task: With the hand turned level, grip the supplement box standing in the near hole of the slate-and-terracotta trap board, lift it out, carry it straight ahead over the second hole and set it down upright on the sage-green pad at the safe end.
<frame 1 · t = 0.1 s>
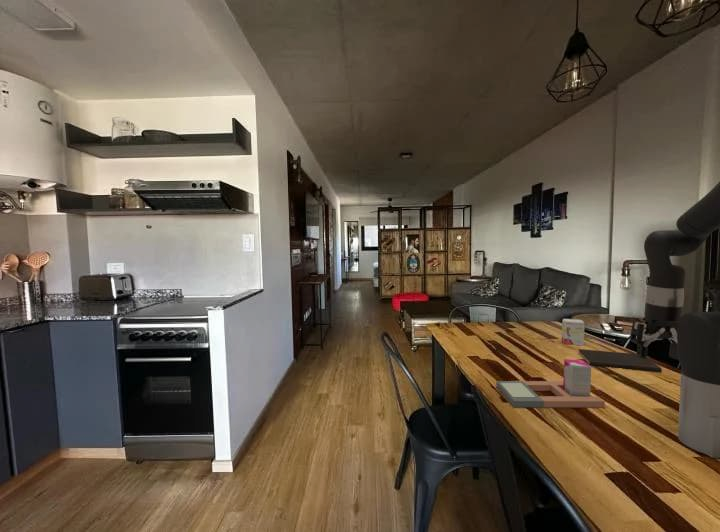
hand: (657, 358, 89), 17 cm above the table, tool pointing down, fingers open, 8 cm apart
supplement box: (576, 397, 102), on the table
trap board: (546, 396, 103), on the table
hardcover book: (616, 363, 130), on the table
ink box: (572, 344, 154), on the table
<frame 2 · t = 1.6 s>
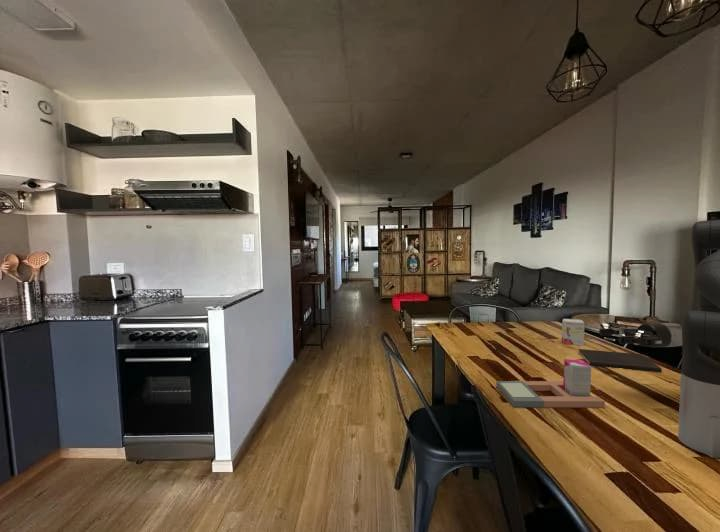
hand: (609, 336, 100), 20 cm above the table, tool horizontal, fingers open, 8 cm apart
nothing on the table moved.
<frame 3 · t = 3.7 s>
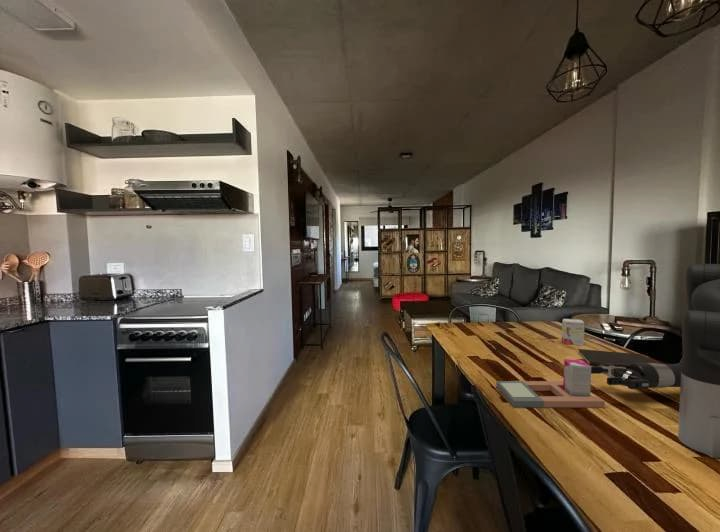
hand: (598, 375, 101), 7 cm above the table, tool horizontal, fingers open, 8 cm apart
nothing on the table moved.
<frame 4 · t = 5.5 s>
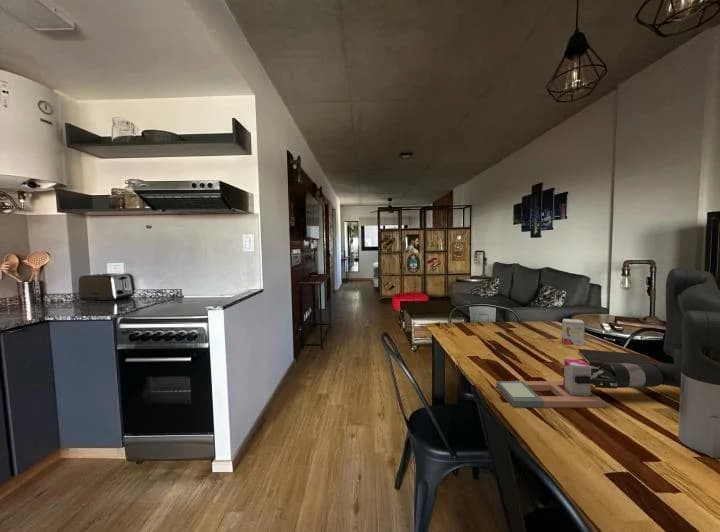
hand: (569, 375, 102), 7 cm above the table, tool horizontal, fingers closed on supplement box, 6 cm apart
supplement box: (576, 396, 102), on the table, touching gripper
everything else where it was.
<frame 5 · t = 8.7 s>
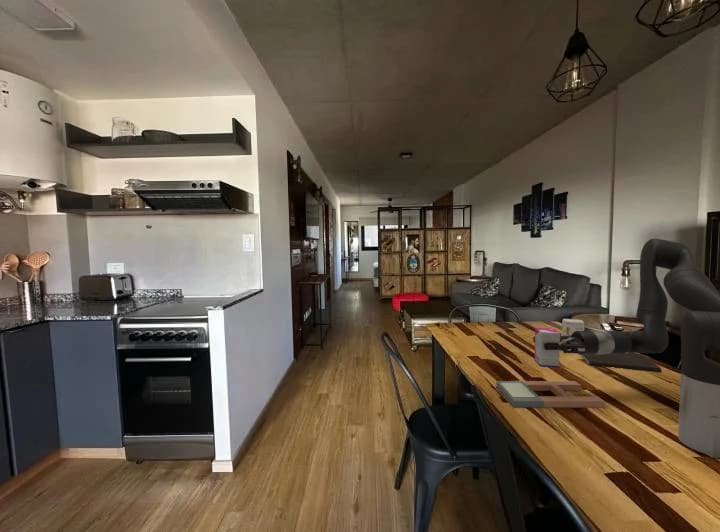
hand: (539, 343, 102), 18 cm above the table, tool horizontal, fingers closed on supplement box, 6 cm apart
supplement box: (546, 364, 102), point 11 cm above the table, touching gripper
everything else where it was.
when the fingers open (10 cm above the table, at t = 11.9 s): supplement box stays where it is, resting on trap board.
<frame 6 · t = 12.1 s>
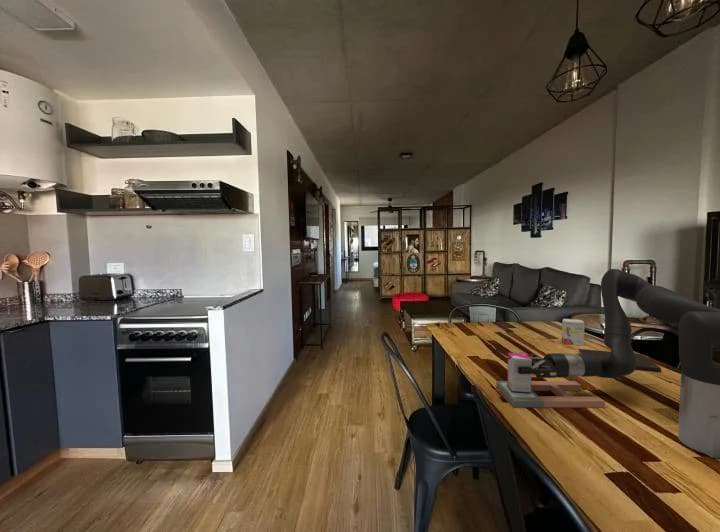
hand: (512, 365, 102), 10 cm above the table, tool horizontal, fingers open, 7 cm apart
supplement box: (518, 389, 103), point 2 cm above the table, touching trap board
everything else where it was.
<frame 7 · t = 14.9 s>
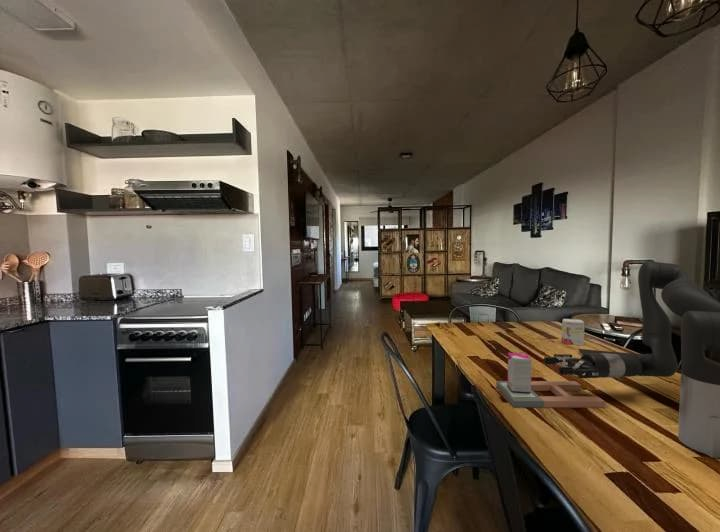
hand: (551, 365, 102), 10 cm above the table, tool horizontal, fingers open, 8 cm apart
nothing on the table moved.
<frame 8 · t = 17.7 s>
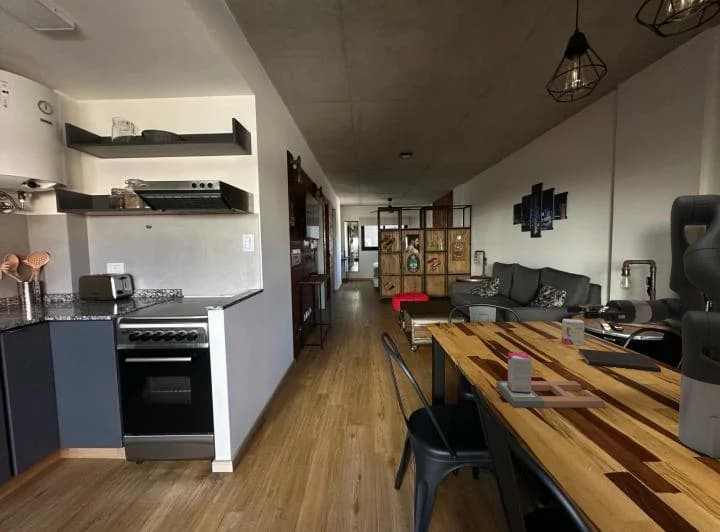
hand: (575, 312, 100), 28 cm above the table, tool horizontal, fingers open, 8 cm apart
nothing on the table moved.
at the end: supplement box inside the target area on the trap board (0.5 cm from its centre), point 2.1 cm above the trap board's base; supplement box tilted 0°; the gripper is holding nothing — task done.
